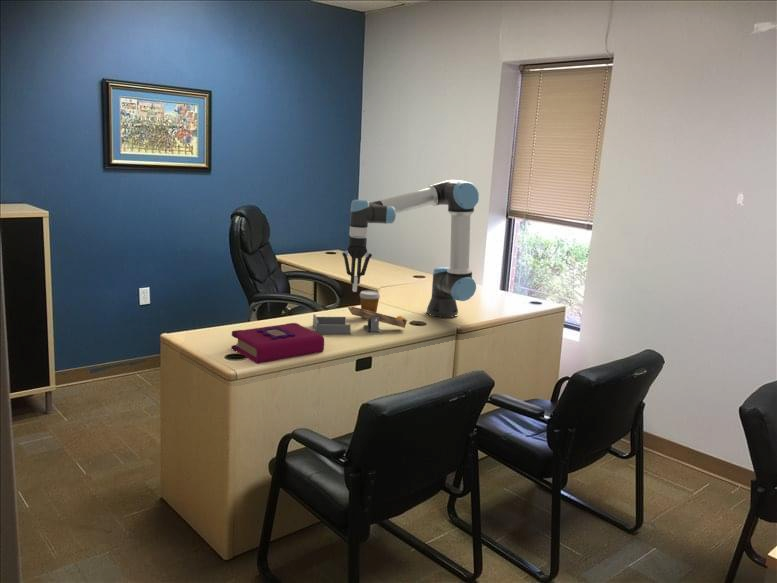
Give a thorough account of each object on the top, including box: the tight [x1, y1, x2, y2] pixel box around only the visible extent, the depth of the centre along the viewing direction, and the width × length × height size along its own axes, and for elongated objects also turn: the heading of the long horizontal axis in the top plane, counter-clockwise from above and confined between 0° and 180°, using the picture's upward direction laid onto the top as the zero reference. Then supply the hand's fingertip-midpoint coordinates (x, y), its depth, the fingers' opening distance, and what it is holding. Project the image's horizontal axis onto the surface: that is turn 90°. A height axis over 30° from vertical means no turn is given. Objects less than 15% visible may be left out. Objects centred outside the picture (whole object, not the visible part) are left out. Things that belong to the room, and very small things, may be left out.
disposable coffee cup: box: [359, 290, 381, 320], centre depth 297 cm, size 10×10×12 cm
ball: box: [395, 315, 405, 321], centre depth 280 cm, size 3×3×3 cm
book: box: [231, 322, 325, 364], centre depth 242 cm, size 21×28×8 cm
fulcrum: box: [363, 317, 383, 334], centre depth 278 cm, size 6×11×7 cm, turn 13°
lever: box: [347, 305, 408, 329], centre depth 281 cm, size 24×11×3 cm, turn 103°
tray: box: [312, 314, 351, 335], centre depth 274 cm, size 14×14×5 cm
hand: (354, 291), depth 279 cm, fingers closed
